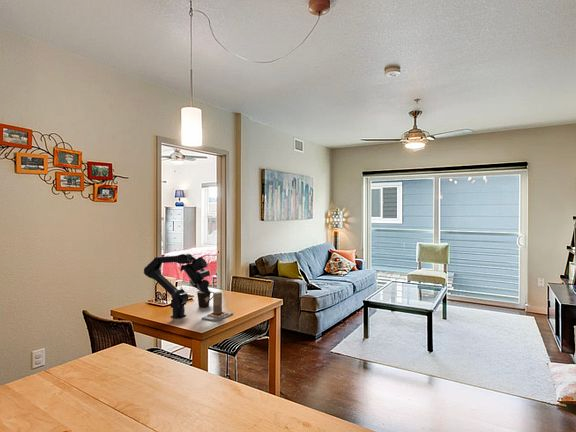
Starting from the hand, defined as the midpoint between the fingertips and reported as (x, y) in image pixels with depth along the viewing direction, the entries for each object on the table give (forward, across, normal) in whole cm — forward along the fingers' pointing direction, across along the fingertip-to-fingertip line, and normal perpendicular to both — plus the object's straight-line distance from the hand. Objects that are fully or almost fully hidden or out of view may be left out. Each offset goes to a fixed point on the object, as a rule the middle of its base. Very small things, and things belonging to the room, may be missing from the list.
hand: (206, 293), depth 208 cm
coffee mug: (+14, +19, +2) cm, 24 cm away
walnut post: (+12, -7, +3) cm, 14 cm away
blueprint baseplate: (+13, -7, +4) cm, 15 cm away
